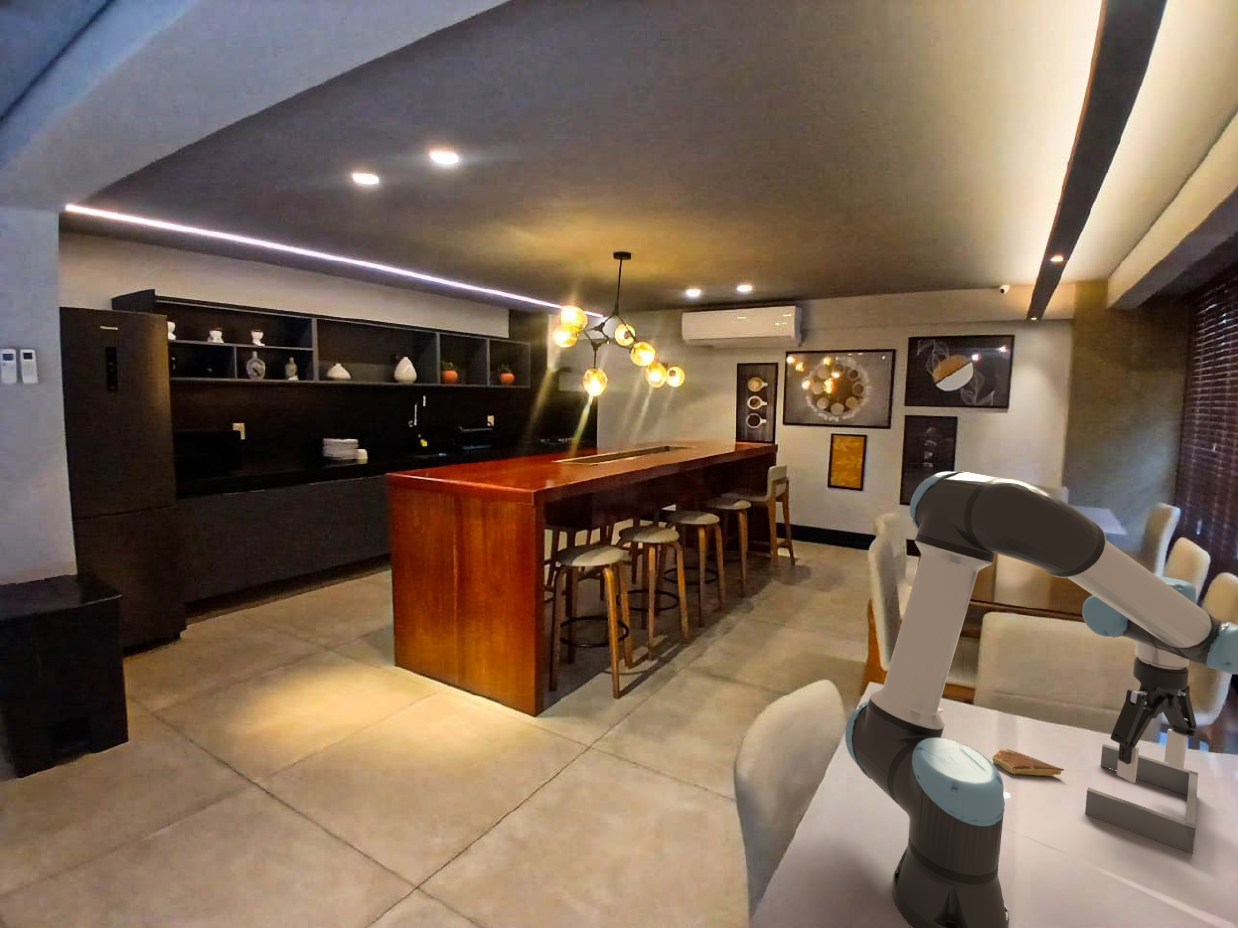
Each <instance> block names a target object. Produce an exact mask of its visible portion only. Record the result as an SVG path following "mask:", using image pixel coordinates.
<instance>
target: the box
mask: <svg viewBox="0 0 1238 928" xmlns="http://www.w3.org/2000/svg"><path fill="white" fill-rule="evenodd" d="M1101 746H1102V748H1101V755H1100V756H1101V758H1100V768H1103V767H1107V768H1111V769H1113V770H1117V766H1118V755H1119V747H1114V746H1112V745H1108V744H1104V743H1102V745H1101ZM1107 768H1106V769H1107ZM1113 770H1112V771H1113ZM1137 778H1138V780H1140V781H1143V782H1147V783H1150V784H1153V785H1155V786H1158V787H1162V788H1165V789H1168V790H1171V791H1174V792H1176V793H1179V794H1183V795H1186V804H1185V805H1186V806H1185V818H1184V820H1183V819H1179V818H1176V817H1174V816H1171V815H1168V814H1165V813H1162V812H1159V811H1156V810H1153V809H1151V808H1147V807H1145V806H1143V805H1139V804H1136V803H1133V802H1131V801H1129V800H1126V799H1122V798H1120V797H1117V796H1114V795H1110V794H1108V793H1105V792H1101V791H1099V790H1097V789H1094V788H1092V787H1087V790H1086V799H1085V810H1084V811H1085V812H1084V813H1085V814H1086V815H1088V816H1091V817H1093V818H1097V819H1099V820H1101V821H1104V822H1107V823H1110V824H1113V825H1115V826H1117V827H1121V828H1123V829H1126V830H1129V831H1131V832H1132V833H1133V832H1134V833H1136V834H1139V835H1141V836H1144V837H1147V838H1149V839H1152V840H1155V841H1157V842H1160V843H1163V844H1165V845H1168V846H1171V847H1173V848H1176V849H1178V850H1181V851H1184V852H1187V853H1189V854H1193V852H1194V846H1195V845H1194V844H1195V843H1194V842H1195V834H1196V821H1197V820H1196V819H1197V802H1198V801H1197V799H1198V785H1199V784H1198V780H1199V773H1198V772H1196V771H1192V770H1190V769H1187V768H1184V769H1179V768H1177V767H1175V766H1173V765H1170V764H1168V763H1166V762H1164V761H1160V760H1158V759H1154V758H1151V757H1147V756H1145V755H1141V754H1138V764H1137V774H1136V779H1137Z"/></svg>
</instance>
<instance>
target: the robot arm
mask: <svg viewBox="0 0 1238 928" xmlns="http://www.w3.org/2000/svg"><path fill="white" fill-rule="evenodd" d="M909 514H910V517H911V518H912V524H913V525H914V526H915V528H916V529H917V532H916V537H915V539H914V540H915V541H914V544H915V545H916V547H917V548H918V550H919V552H920V558H919V561H918V562H919V563H918V565H917V569H916V572H915V575H914V579H913V583H912V586H911V589H910V593H909V596H908V597H909V598H908V599H907V603H906V607H905V611H904V615H903V618H902V621H901V624H900V627H899V628H900V629H899V632H898V635H897V639H896V642H895V645H894V648H893V651H892V656H891V658H890V662H889V665H888V669H887V672H886V675H885V676H886V677H885V678H884V679H885V680H884V683H883V687H882V688H881V689H880V690H877V691H874V692H872V693H871V694H870V695H869V700H867V701H864V702H863V703H861V704H859V705H858V707H859V708H857V709H854V710H852V712H851V713H850V716H849V717H848V720H847V723H846V726H845V731H844V732H845V733H844V737H845V738H844V739H845V744H846V748H847V752H848V754H849V756H850V758H851V759H852V760H853V761H854V763H855V764H856V765H857V766H858V767H859V769H860V770H861V772H862V774H864V775H865V776H866V777H867V778H868V779H870V780H872V781H873V782H874V783H875V784H876V785H877V786H878V787H879V788H880V789H881V790H882V791H883V792H884V793H885V794H886V795H887V796H888V797H889V798H890V799H892V801H894V803H896V804H897V805H898V806H899V807H900V808H901V809H902V810H903V811H904V812H905V813H906V814H907V816H908V818H909V820H908V822H909V823H908V841H907V846H906V848H905V850H903V851H904V852H903V854H902V856H901V858H900V859H899V862H898V864H897V866H896V868H895V869H894V873H893V877H892V887H891V888H892V892H891V893H893V894H892V898H894V899H893V901H895V902H894V904H895V906H896V908H897V907H898V908H897V910H898V911H899V912H900V914H901V915H902V916H903V917H904V919H905V920H906V921H907V922H909V924H910V925H911V926H912V927H914V928H1009V926H1010V914H1009V910H1008V907H1007V904H1006V901H1005V900H1004V897H1003V890H1002V886H1001V881H1000V878H999V863H1000V853H1001V841H1002V833H1003V821H1004V813H1005V804H1006V803H1005V797H1004V781H1003V778H1002V776H1001V773H1000V772H999V770H998V769H997V767H996V766H995V764H994V763H993V762H992V761H991V760H990V759H989V758H987V757H986V756H985V755H984V754H982V753H981V752H979V750H977V749H975V748H973V747H972V746H969V745H967V744H960V743H959V742H958V741H957V740H953V739H949V738H945V737H942V736H943V732H944V729H945V722H944V720H943V718H942V716H941V714H940V715H939V713H938V707H940V705H941V700H942V697H943V692H944V690H945V686H946V683H947V679H948V675H949V672H950V670H951V665H952V663H953V659H954V656H955V653H956V649H957V646H958V642H959V638H960V635H961V632H962V628H963V624H964V621H965V618H966V614H967V612H968V608H969V604H970V601H971V598H972V594H973V591H974V588H975V584H976V580H977V577H978V574H979V572H980V571H981V570H983V569H984V568H987V567H989V566H991V565H993V562H994V558H995V556H996V554H997V555H1001V556H1003V557H1009V558H1011V559H1015V560H1018V561H1021V562H1025V563H1028V564H1030V565H1033V566H1035V567H1037V568H1039V569H1041V570H1043V571H1044V572H1046V573H1047V574H1048V575H1051V576H1053V577H1056V578H1062V579H1069V581H1072V582H1074V583H1075V584H1076V585H1077V586H1079V587H1080V588H1082V589H1083V590H1085V591H1086V592H1088V593H1089V594H1090V596H1088V597H1087V598H1086V599H1085V600H1084V602H1083V605H1082V611H1081V612H1082V613H1081V615H1082V619H1083V622H1084V623H1085V625H1086V626H1087V628H1088V629H1090V631H1092V632H1093V633H1094V634H1096V635H1098V636H1102V637H1111V638H1119V637H1123V638H1124V637H1125V638H1127V639H1130V640H1133V641H1135V650H1134V655H1135V656H1136V657H1135V658H1134V661H1133V662H1134V663H1133V672H1132V674H1133V677H1134V678H1135V679H1136V680H1137V681H1139V683H1140V686H1139V689H1138V691H1137V690H1134V689H1131V688H1127V691H1126V695H1125V701H1124V703H1123V706H1122V708H1121V711H1120V712H1119V715H1118V718H1117V720H1116V722H1115V724H1114V727H1113V730H1112V732H1111V735H1110V740H1111V741H1113V742H1116V743H1118V744H1119V745H1118V746H1119V747H1118V748H1119V755H1118V766H1117V772H1116V775H1117V776H1119V777H1121V778H1122V779H1125V780H1126V781H1128V782H1130V783H1131V784H1133V783H1136V781H1137V778H1136V774H1137V764H1138V755H1139V754H1140V753H1139V752H1140V747H1137V745H1138V743H1139V741H1140V739H1142V736H1143V735H1144V733H1145V731H1146V729H1147V728H1148V726H1149V724H1150V722H1151V721H1152V720H1153V719H1157V718H1158V716H1159V715H1160V714H1162V713H1163V714H1164V716H1165V718H1166V720H1167V722H1168V724H1169V725H1170V728H1168V729H1167V732H1166V733H1167V734H1166V741H1165V752H1164V761H1163V762H1164V763H1167V764H1170V765H1173V766H1175V767H1177V768H1179V769H1185V768H1184V767H1185V760H1186V758H1185V757H1186V751H1187V750H1186V749H1187V740H1188V736H1190V737H1194V736H1195V734H1196V731H1195V730H1196V729H1197V727H1198V726H1197V721H1196V717H1195V713H1194V709H1193V705H1192V702H1191V697H1190V694H1191V693H1190V691H1191V689H1190V685H1189V684H1188V681H1189V672H1190V671H1189V669H1188V668H1187V667H1189V665H1190V661H1191V662H1194V663H1197V664H1199V665H1203V666H1205V667H1207V668H1209V669H1210V670H1216V671H1219V672H1223V673H1227V674H1230V675H1238V624H1235V623H1234V622H1232V621H1225V620H1222V619H1219V618H1216V617H1215V616H1213V615H1212V614H1211V613H1209V612H1208V611H1206V610H1205V609H1204V608H1202V607H1200V606H1199V605H1198V604H1197V588H1196V586H1194V584H1192V583H1191V582H1189V581H1187V580H1183V579H1179V578H1174V577H1173V578H1172V577H1167V576H1159V575H1155V574H1154V573H1153V572H1151V571H1150V570H1148V568H1146V567H1144V566H1143V565H1142V564H1140V563H1139V562H1138V561H1136V560H1135V559H1133V558H1132V557H1130V556H1129V555H1128V554H1126V553H1125V552H1123V550H1120V548H1118V547H1116V546H1115V545H1114V544H1112V543H1111V542H1109V540H1107V536H1106V533H1105V532H1104V529H1102V527H1101V526H1100V525H1099V524H1097V523H1095V522H1094V521H1093V520H1091V519H1090V518H1089V517H1088V516H1087V515H1085V514H1083V513H1082V512H1080V511H1079V510H1078V509H1076V508H1074V507H1073V506H1072V505H1070V504H1068V503H1067V502H1065V501H1064V500H1062V499H1061V498H1058V497H1057V496H1055V495H1053V494H1051V493H1050V492H1048V491H1046V490H1044V489H1043V488H1041V487H1038V486H1036V485H1035V484H1032V483H1029V482H1026V481H1023V480H1020V479H1012V478H1005V477H998V476H991V475H986V474H979V473H973V472H967V471H941V472H937V473H935V474H933V475H931V476H929V477H928V478H926V479H924V480H923V481H922V482H921V483H920V484H919V485H918V486H917V488H916V489H915V491H914V492H913V494H912V497H911V500H910V503H909Z"/></svg>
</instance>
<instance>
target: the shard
mask: <svg viewBox="0 0 1238 928" xmlns="http://www.w3.org/2000/svg"><path fill="white" fill-rule="evenodd" d="M992 761H993V762H992V764H993V765H996V766H1000V767H1001V768H1002V769H1003V770H1005V771H1006V772H1008V773H1010V774H1012V775H1013V776H1014V775H1022V776H1023V775H1030V776H1047V777H1049V776H1055V775H1056V776H1057V775H1059V776H1060V775H1061V774H1062V772H1063V771H1065V769H1064V768H1061V767H1057V766H1055V765H1053V764H1049V763H1047V762H1044V761H1042V760H1039V759H1037V758H1034V757H1032V756H1029V755H1026V754H1023V753H1020V752H1017V751H1014V750H1011V749H1008V748H1003V749H999V750H998V752H997V753H996V754H994V755H993V756H992Z"/></svg>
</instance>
